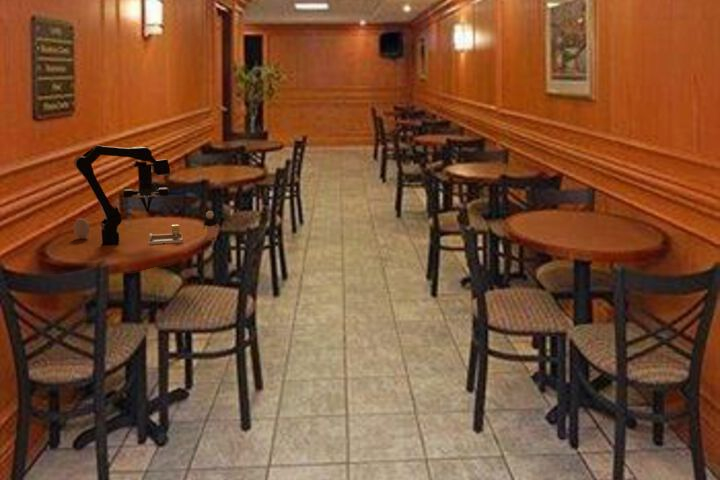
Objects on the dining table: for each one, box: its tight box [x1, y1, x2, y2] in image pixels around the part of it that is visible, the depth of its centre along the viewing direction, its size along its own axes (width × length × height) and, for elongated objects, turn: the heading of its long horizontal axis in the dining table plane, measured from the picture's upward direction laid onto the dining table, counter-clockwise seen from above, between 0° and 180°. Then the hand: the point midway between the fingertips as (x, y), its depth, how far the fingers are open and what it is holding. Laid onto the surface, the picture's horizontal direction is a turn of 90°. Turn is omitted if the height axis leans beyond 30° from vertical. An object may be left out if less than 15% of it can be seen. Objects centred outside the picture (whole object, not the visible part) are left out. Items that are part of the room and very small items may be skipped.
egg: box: [73, 217, 90, 240], centre depth 336 cm, size 7×7×9 cm
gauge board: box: [148, 232, 184, 245], centre depth 330 cm, size 14×10×3 cm
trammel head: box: [171, 224, 180, 238], centre depth 330 cm, size 3×6×5 cm, turn 14°
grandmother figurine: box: [202, 210, 220, 241], centre depth 331 cm, size 8×4×13 cm, turn 141°
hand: (147, 212), depth 332 cm, fingers closed
